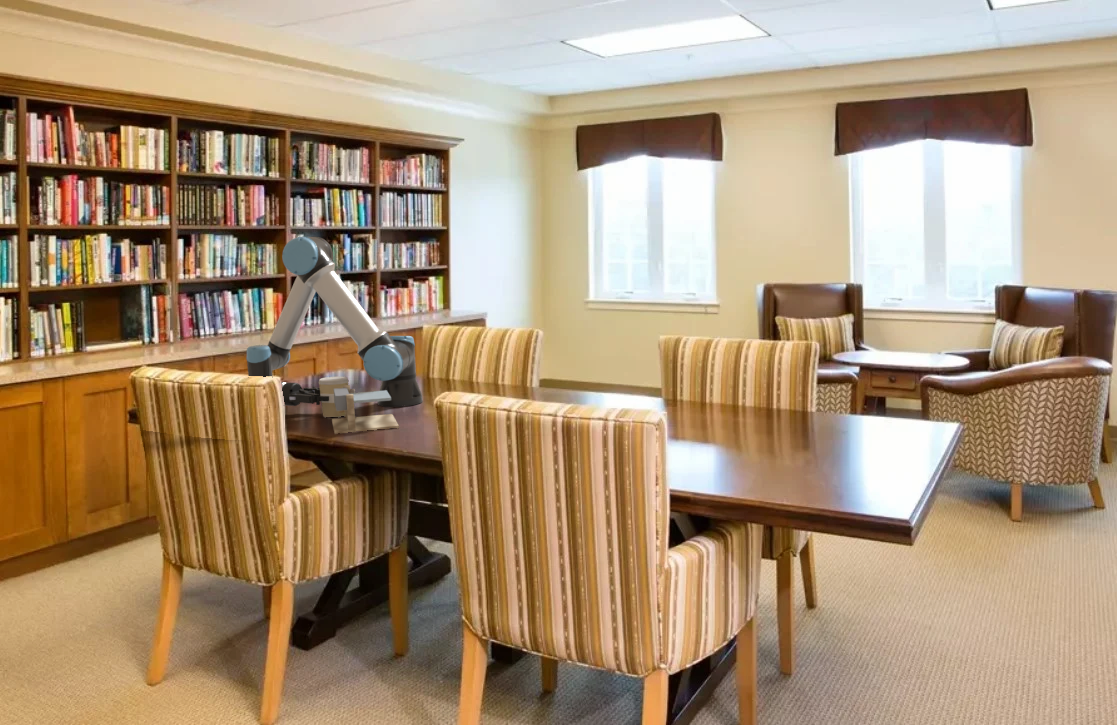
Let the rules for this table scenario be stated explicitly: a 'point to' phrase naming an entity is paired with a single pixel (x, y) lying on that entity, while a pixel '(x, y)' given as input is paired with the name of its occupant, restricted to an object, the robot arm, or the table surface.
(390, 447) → the table surface
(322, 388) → the coffee cup
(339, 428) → the frame
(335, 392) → the trapdoor
